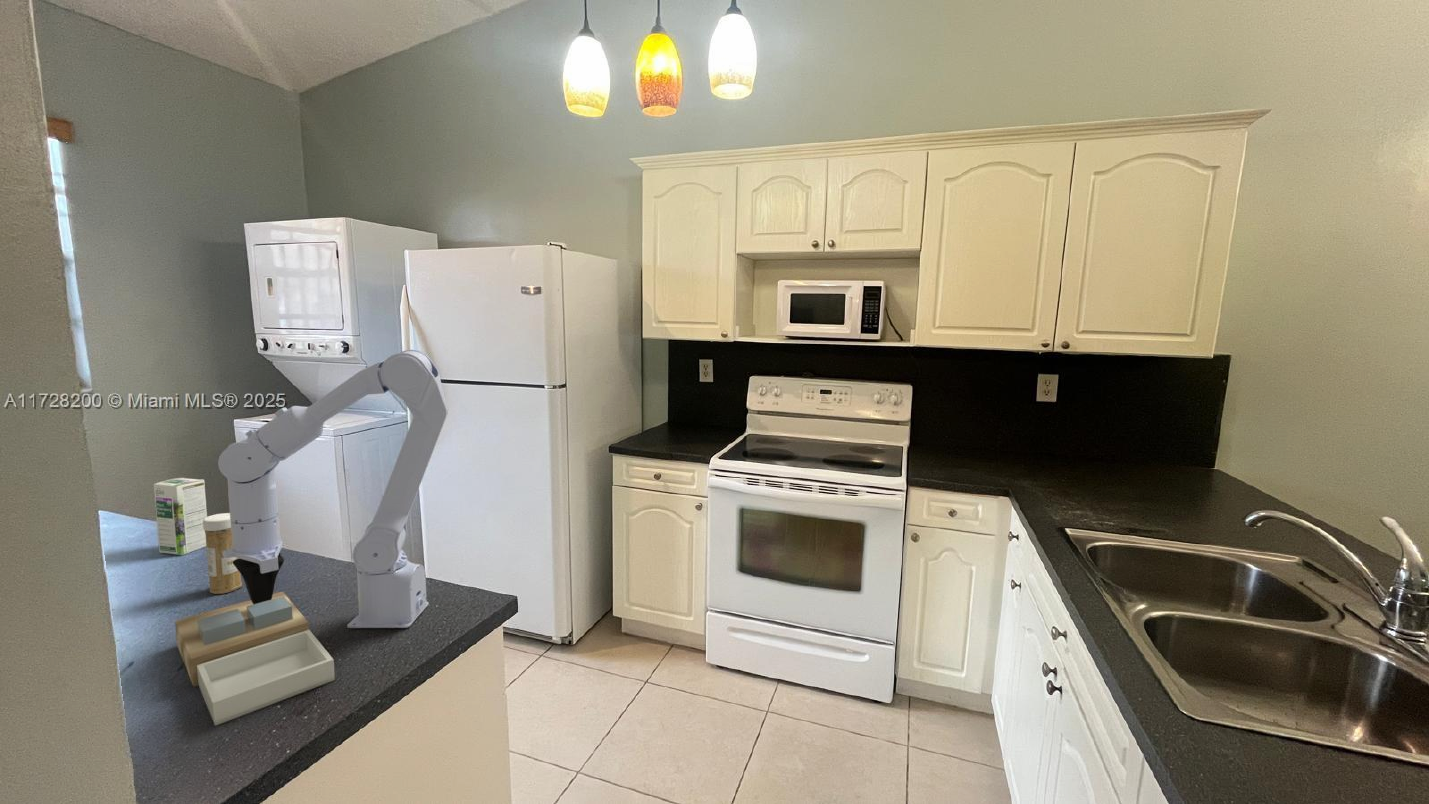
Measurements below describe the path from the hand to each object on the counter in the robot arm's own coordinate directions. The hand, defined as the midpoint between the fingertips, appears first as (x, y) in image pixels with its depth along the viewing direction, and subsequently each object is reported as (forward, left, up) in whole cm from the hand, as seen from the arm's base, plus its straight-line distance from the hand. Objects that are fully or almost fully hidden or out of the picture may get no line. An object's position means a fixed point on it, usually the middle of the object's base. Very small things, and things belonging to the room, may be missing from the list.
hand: (261, 602), depth 89 cm
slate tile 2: (-3, +4, -1) cm, 5 cm away
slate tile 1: (0, +8, -1) cm, 8 cm away
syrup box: (+37, -32, -5) cm, 50 cm away
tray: (-9, +13, -5) cm, 17 cm away
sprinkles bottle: (+16, -14, -5) cm, 22 cm away
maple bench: (0, +4, -5) cm, 6 cm away
